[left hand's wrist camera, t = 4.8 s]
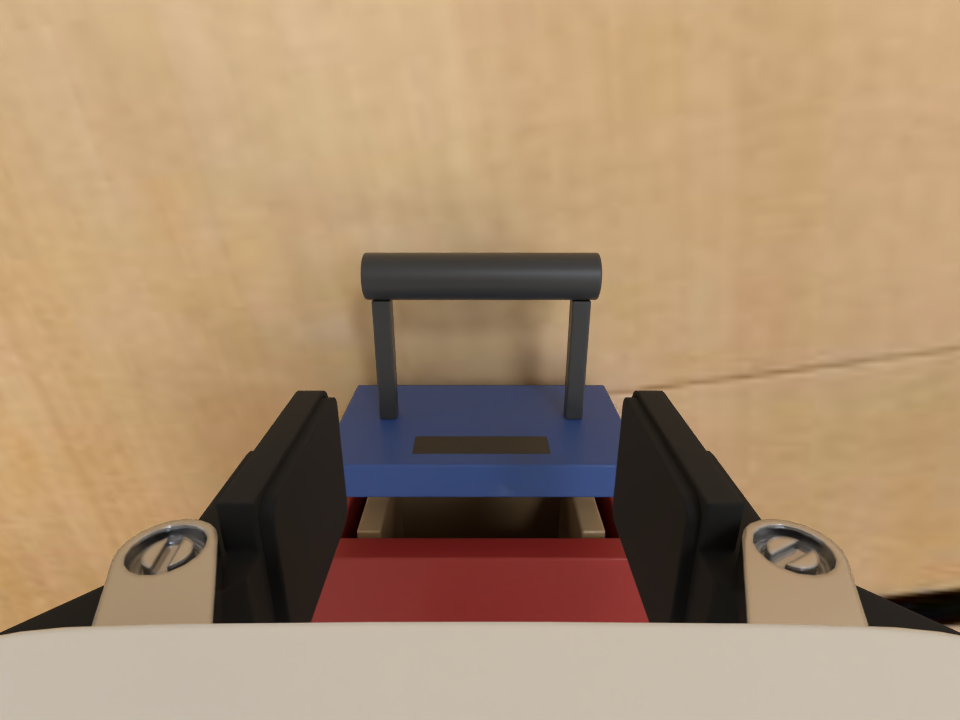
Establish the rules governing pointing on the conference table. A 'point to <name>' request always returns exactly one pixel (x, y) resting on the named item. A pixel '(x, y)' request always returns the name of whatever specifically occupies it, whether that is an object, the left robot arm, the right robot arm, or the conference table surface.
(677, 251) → the conference table surface
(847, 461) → the conference table surface
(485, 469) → the drawer
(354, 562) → the red rectangular box
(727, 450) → the conference table surface
